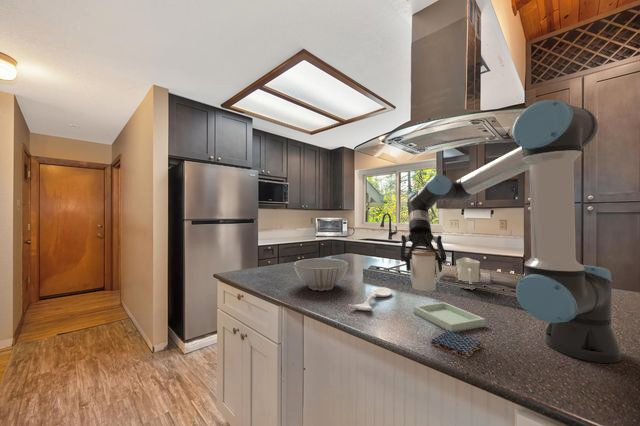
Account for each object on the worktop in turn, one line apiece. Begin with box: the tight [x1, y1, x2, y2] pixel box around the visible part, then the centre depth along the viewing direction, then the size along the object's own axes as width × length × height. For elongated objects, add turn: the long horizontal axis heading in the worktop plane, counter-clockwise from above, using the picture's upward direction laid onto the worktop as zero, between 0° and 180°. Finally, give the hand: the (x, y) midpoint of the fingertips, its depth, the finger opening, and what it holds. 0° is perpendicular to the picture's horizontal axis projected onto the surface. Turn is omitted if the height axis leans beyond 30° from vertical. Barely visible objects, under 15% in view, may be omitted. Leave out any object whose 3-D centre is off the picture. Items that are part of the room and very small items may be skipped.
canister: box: [411, 249, 437, 292], centre depth 93 cm, size 7×7×12 cm
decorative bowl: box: [293, 258, 349, 292], centre depth 139 cm, size 27×27×12 cm
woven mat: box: [430, 330, 483, 359], centre depth 79 cm, size 10×11×2 cm
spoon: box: [347, 286, 393, 311], centre depth 117 cm, size 9×32×4 cm, turn 149°
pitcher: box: [454, 256, 482, 284], centre depth 135 cm, size 11×18×14 cm, turn 160°
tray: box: [413, 301, 486, 333], centre depth 98 cm, size 18×14×2 cm
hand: (425, 279), depth 89 cm, fingers closed on canister, 7 cm apart
